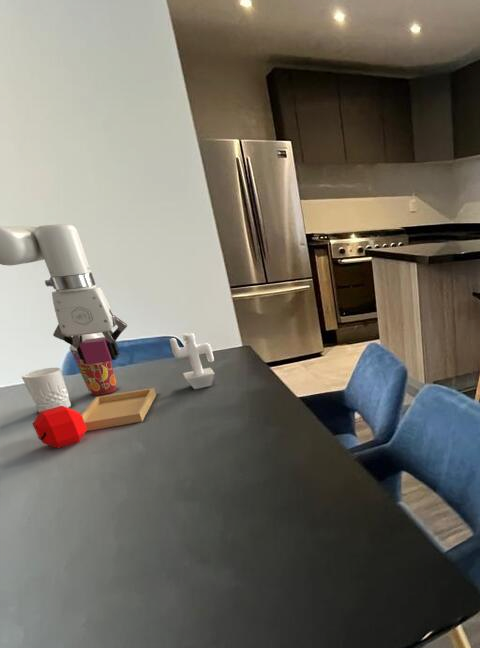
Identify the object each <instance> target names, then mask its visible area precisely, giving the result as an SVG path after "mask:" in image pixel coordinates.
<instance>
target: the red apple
mask: <svg viewBox="0 0 480 648" xmlns="http://www.w3.org/2000/svg"><path fill="white" fill-rule="evenodd" d="M81 414H82V413H80V412H79V411H78V410H75V409H72V408H70V407H69V408H67V407H65V406H59V407H56V408H52V409H48V410H44V411H41V412H39V413H38V415H37V416H36V418H35V420H34V421H33V422H32V426H33V427H34V431H35V433H36V435H37V437H38V439H39V440H40V441H41V443H42V444H44V445H47V446H50V447H53V448H57V449H60V448H64V447H67V446H70V445H73V444H77V443H80V442H81V440H82V439H83V437H84V435H85V434H86V432H88V431H87V428H86V425H85V422H84V420H83V417H82V415H81Z"/></svg>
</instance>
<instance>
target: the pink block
mask: <svg viewBox="0 0 480 648" xmlns="http://www.w3.org/2000/svg"><path fill="white" fill-rule="evenodd" d="M100 337H101V336H100ZM107 344H108V340H107V339H106V338H105V336H102V337H101V338H93V339H86V340H84V341H83V342H82V343H80V344H79V345H80V348H81V350H82V353H83V356H84V358H85V361H86V364H87V365H89V364H96V363H103V362H110V361H111V362H112V361H113V360H112V358H111V355H110V352H109V349H108V346H107Z"/></svg>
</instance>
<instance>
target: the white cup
mask: <svg viewBox="0 0 480 648" xmlns="http://www.w3.org/2000/svg"><path fill="white" fill-rule="evenodd" d="M21 379H22V380H23V382H24V386H25V387H26V389H27V391H28V393H29V395H30V397H31V399H32V401H33V402H34V404H35V406H36V408H37V411H38V412H39V413H40V412H41V411H44V410H48V409H52V408H56V407H59V406H65V407H67V408H70V407H71V406H72V402H71V400H70V395H69V392H68V388H67V385H66V382H65V379H64V375H63V373H62V370H61V368H60V367H47V368H41V369H36V370H31V371H28V372H26V373H23V374H22V375H21Z"/></svg>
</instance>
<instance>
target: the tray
mask: <svg viewBox="0 0 480 648" xmlns="http://www.w3.org/2000/svg"><path fill="white" fill-rule="evenodd" d="M156 396H157V393H156V390H155V387H152V388H145V389H140V390H139V389H137V390H131V391H126V392H119V393H114V394H105V395H99V396H95V398H94V399H93V400H92V401H91V402H90V404H89V405H88V406H87V407H86V408H85V409H84V411H82V412H81V413H80V414H81V415H82V417H83V420H84V422H85V425H86V428H87V431H86V432H89V431H90V432H91V431H95V430H102V429H106V428H113V427H117V426H118V427H119V426H124V425H131V424H134V423H141V422H143V421H144V419H145V417H146V415H147V413H148V412H149V410H150V408H151V406H152V403H153V402H154V401H155V398H156Z"/></svg>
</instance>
